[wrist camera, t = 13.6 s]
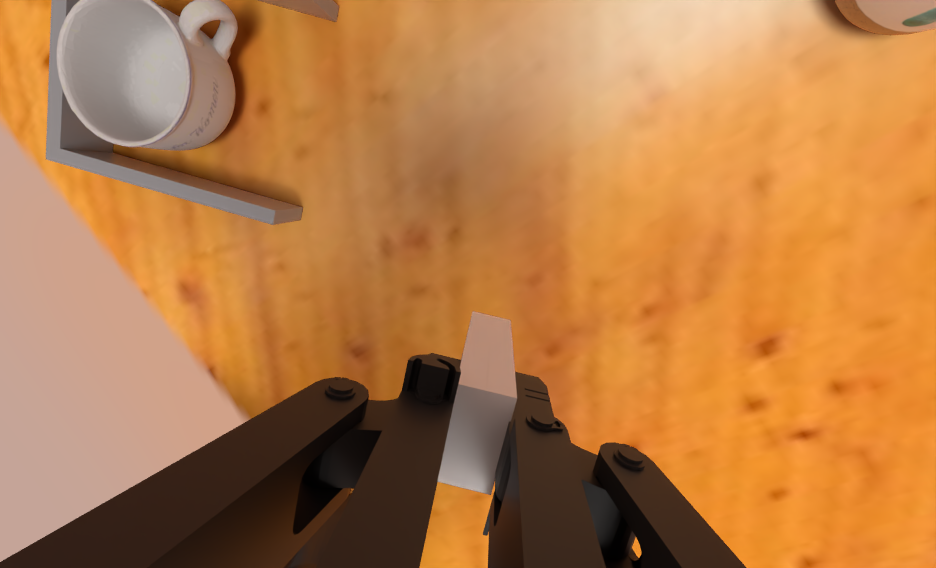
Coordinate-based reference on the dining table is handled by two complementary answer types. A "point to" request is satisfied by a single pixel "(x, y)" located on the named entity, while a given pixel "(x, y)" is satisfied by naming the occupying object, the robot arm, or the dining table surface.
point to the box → (96, 155)
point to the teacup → (148, 71)
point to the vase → (890, 15)
